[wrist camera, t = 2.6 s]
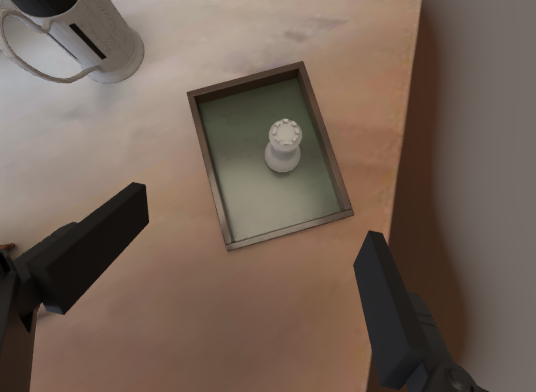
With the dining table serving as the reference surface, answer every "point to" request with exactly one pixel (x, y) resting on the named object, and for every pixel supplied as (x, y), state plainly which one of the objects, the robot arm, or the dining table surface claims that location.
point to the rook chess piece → (283, 146)
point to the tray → (253, 157)
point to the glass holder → (80, 37)
